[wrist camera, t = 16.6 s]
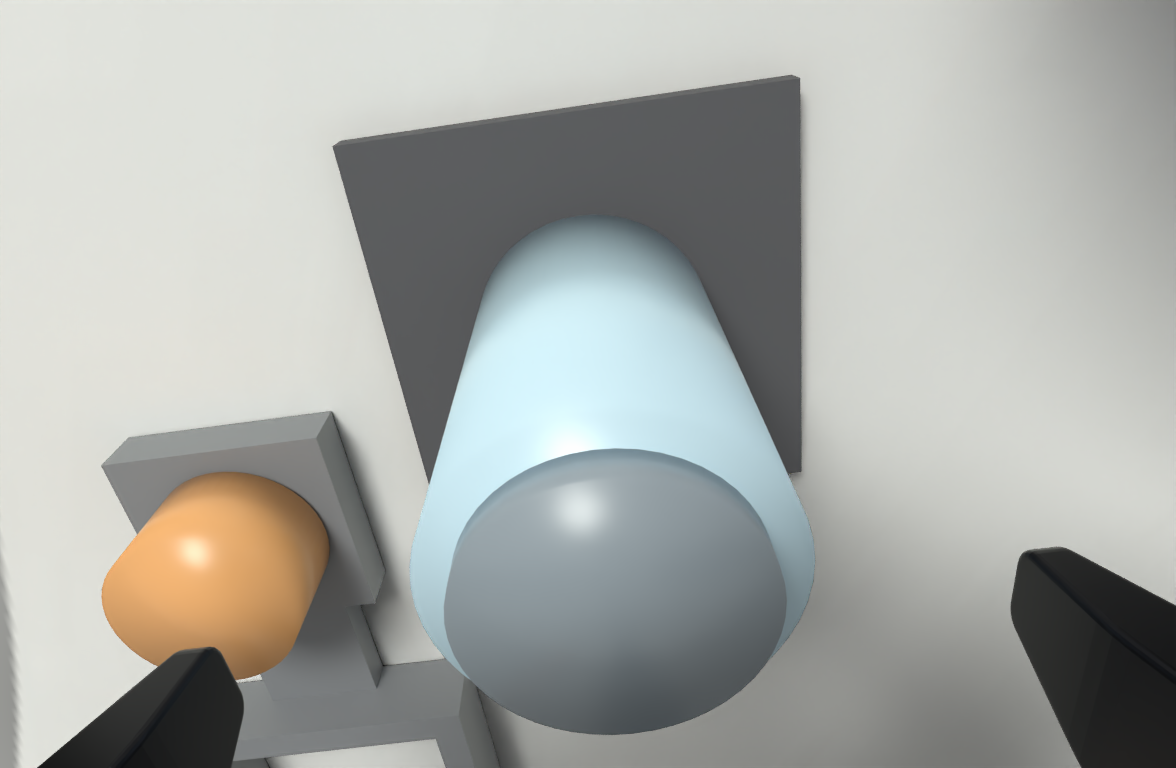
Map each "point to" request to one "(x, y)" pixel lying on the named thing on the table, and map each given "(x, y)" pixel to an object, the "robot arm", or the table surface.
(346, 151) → the mat
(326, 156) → the table surface
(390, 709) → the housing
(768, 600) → the cylinder
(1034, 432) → the table surface
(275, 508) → the plunger
